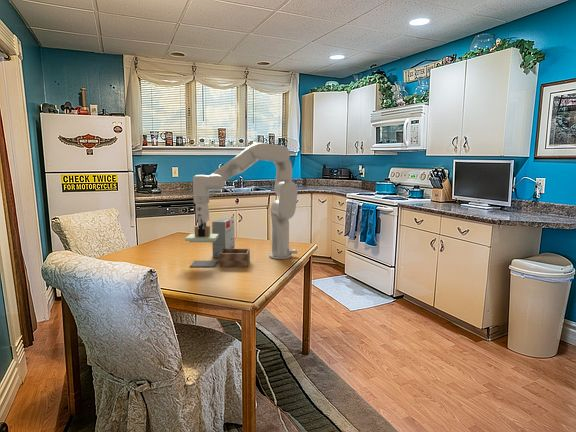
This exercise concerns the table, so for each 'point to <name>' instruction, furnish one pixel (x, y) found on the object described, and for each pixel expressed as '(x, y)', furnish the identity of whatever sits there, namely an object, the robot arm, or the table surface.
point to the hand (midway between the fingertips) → (202, 235)
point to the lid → (207, 237)
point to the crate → (234, 257)
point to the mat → (203, 264)
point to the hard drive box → (223, 235)
